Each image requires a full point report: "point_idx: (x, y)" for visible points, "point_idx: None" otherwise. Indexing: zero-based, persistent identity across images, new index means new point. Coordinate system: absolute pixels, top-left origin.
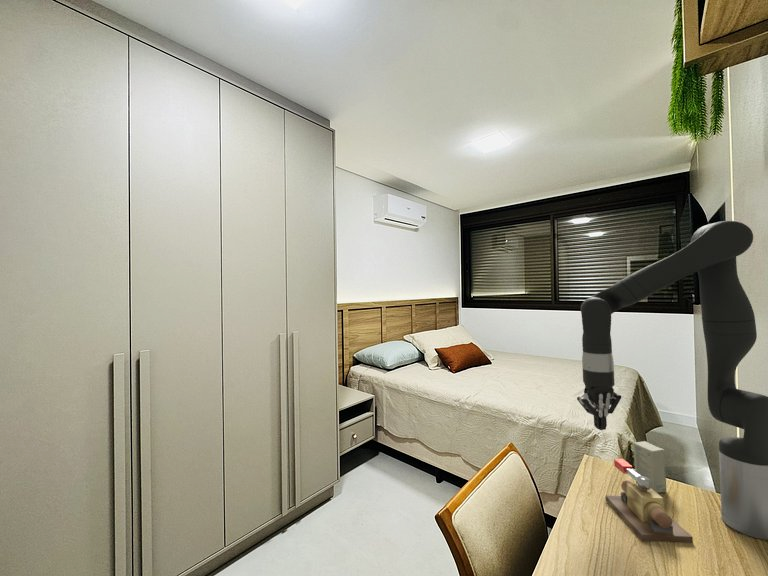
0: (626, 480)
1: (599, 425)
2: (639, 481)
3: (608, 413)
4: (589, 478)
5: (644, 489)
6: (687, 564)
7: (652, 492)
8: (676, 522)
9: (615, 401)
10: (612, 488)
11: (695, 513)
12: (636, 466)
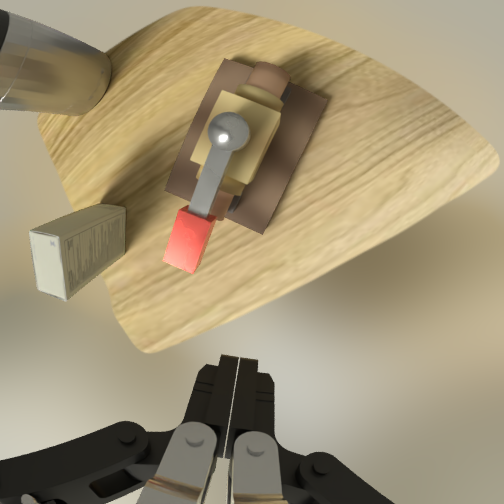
0: None
1: (261, 386)
2: (248, 135)
3: (151, 434)
4: (213, 309)
5: None
6: (302, 38)
7: None
8: (204, 97)
9: (43, 484)
10: None
11: (118, 129)
12: (104, 265)
